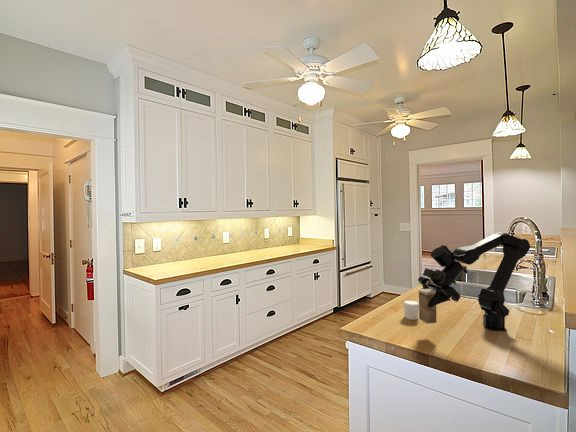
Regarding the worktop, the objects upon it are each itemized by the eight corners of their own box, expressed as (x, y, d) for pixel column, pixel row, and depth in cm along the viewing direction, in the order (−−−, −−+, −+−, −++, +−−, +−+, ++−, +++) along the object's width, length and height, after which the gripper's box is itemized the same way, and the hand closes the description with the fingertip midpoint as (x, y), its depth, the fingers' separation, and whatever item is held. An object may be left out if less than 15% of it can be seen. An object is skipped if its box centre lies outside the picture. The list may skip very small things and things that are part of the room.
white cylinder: (421, 320, 135) (420, 305, 135) (404, 319, 136) (404, 304, 136) (417, 315, 142) (417, 300, 142) (402, 314, 143) (401, 299, 143)
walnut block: (428, 317, 123) (427, 288, 122) (436, 322, 118) (436, 291, 117) (419, 318, 122) (418, 289, 121) (427, 323, 117) (426, 292, 116)
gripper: (421, 257, 129) (397, 285, 127) (453, 265, 110) (425, 298, 109) (438, 274, 130) (415, 302, 129) (472, 285, 112) (445, 318, 110)
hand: (424, 304), depth 119 cm, fingers closed on walnut block, 5 cm apart
